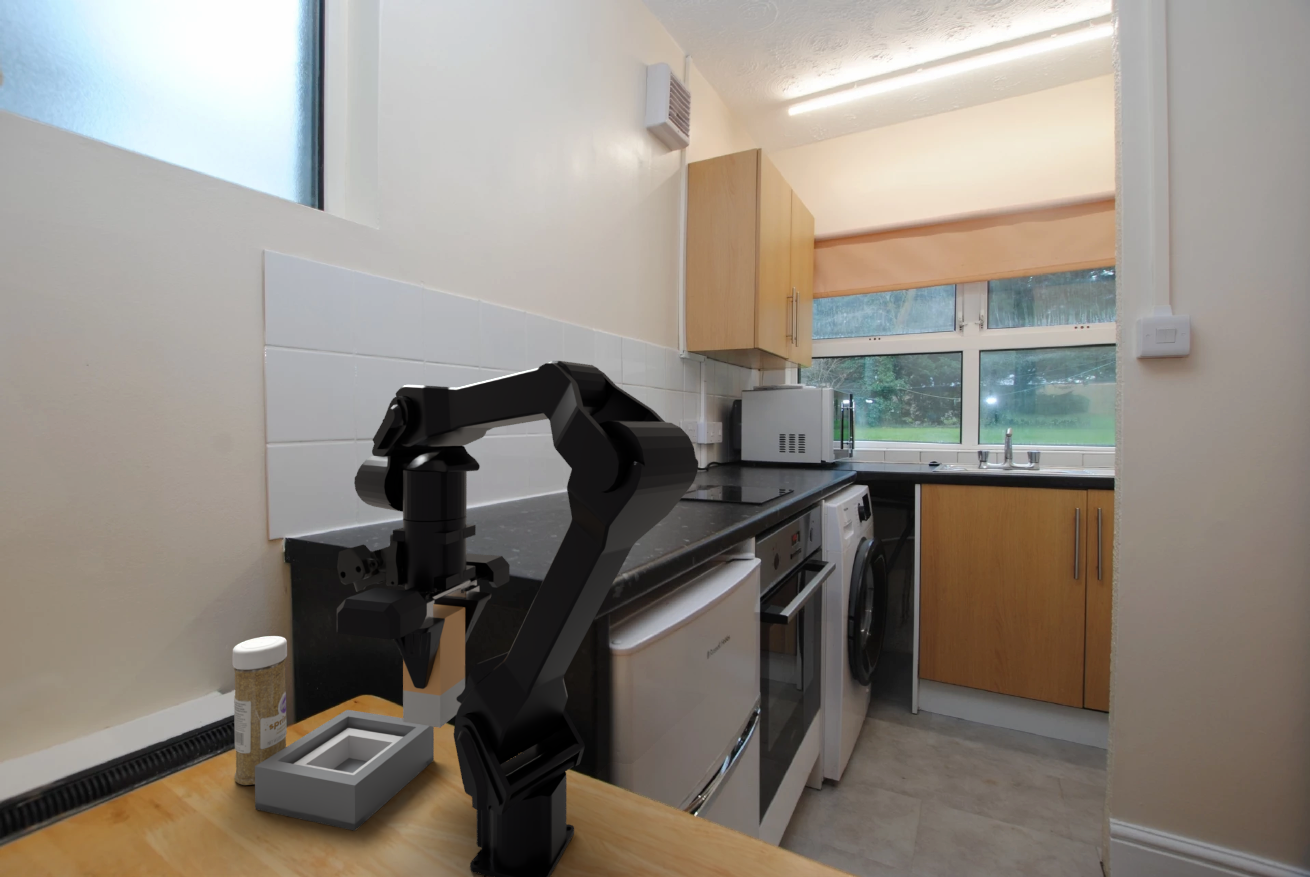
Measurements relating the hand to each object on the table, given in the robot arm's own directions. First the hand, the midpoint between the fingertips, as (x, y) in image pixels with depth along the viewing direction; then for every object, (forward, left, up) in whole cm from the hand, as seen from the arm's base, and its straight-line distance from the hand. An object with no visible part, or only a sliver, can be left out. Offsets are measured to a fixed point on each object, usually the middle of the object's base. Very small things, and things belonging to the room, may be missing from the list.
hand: (435, 677), depth 55 cm
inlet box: (+9, +1, -11) cm, 14 cm away
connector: (0, 0, -4) cm, 4 cm away
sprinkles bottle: (+19, +2, -11) cm, 22 cm away
